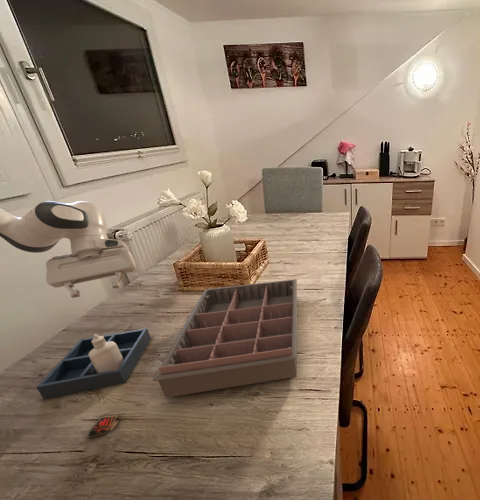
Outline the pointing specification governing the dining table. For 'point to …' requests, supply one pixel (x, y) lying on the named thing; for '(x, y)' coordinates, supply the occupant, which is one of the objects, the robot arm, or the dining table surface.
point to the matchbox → (103, 425)
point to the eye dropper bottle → (105, 355)
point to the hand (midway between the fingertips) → (96, 292)
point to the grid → (84, 373)
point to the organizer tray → (234, 339)
